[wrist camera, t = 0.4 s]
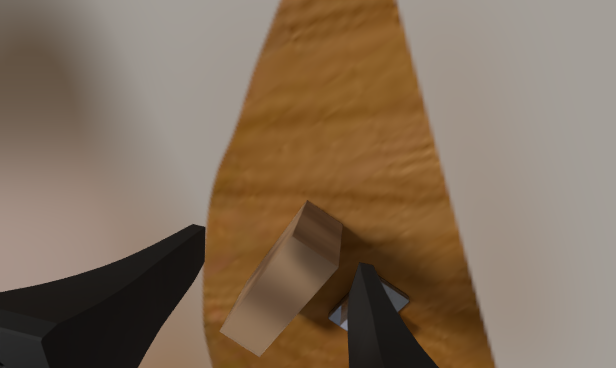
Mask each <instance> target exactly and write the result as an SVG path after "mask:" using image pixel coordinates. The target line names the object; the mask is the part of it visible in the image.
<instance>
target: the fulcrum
mask: <svg viewBox="0 0 616 368" xmlns="http://www.w3.org/2000/svg"><path fill="white" fill-rule="evenodd" d="M378 277H379V276H378ZM379 279H380V281H381V283H382V285H383V287H384V289H385V291H386V293H387V295H388V296H389V298H390V300H391V302H392V304H393V306H394V307H395V309H396V311H397V312H398V311H399V310H400V309H402V308H403V307H404V306H405V305H406V304H407V303H408V302H409V297H408V296H407V295H406V294H404V293H403V292H401V291H400V290H398V289H397V288H395V287H394V286H392V285H391V284H389V283H388V282H386V281H385V280H384V279H382V278H381V277H379ZM349 293H350V292H349ZM349 293H348V294H347V295H346V296H345V297H344V298H343V299H342V300H341V301H340V302H339V303H338V304H337V306H336V307H335V308H334V309H333V310H332V311H331V312H330V313H329V316H328V319H330V320H331V321H333V322H334V323H336V324H337V325H339V326H340V327H342V328H343V329H345V330H346V331H348V327H347V312H348V299H349Z"/></svg>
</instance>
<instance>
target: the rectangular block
mask: <svg viewBox="0 0 616 368" xmlns="http://www.w3.org/2000/svg"><path fill="white" fill-rule="evenodd" d="M342 226H343V225H342V224H341V223H340V222H338V221H337V220H335V219H334V218H332V217H331V216H329V215H328V214H326V213H325V212H323V211H322V210H321V209H319V208H318V207H316V206H315V205H313V204H312V203H310V202H309V201H306V202H305V204H304V205H303V206H302V208H301V209H300V210H299V212H298V213H297V214H296V216H295V217H294V218H293V220H292V221H291V223H290V224H289V225H288V227H287V228H286V229H285V231H284V232H283V233H282V235H281V236H280V237H279V239H278V240H277V241H276V243H275V244H274V246H273V247H272V248H271V250H270V251H269V252H268V254H267V255H266V256H265V258H264V259H263V260H262V262H261V263H260V264H259V266H258V267H257V268H256V270H255V271H254V273H253V274H252V275H251V277H250V278H249V279H248V281H247V282H246V284H245V286H244V288H243V290H242V292H241V293H240V295H239V297H238V299H237V301H236V302H235V304H234V306H233V308H232V310H231V311H230V313H229V315H228V317H227V319H226V321H225V322H224V324H223V326H222V328H221V330H220V332H221V333H223V334H224V335H226V336H227V337H229V338H231V339H232V340H234V341H235V342H237V343H238V344H240V345H241V346H243V347H245V348H246V349H248V350H249V351H251V352H252V353H254V354H256V355H257V356H259V357H260V356H261V354H262V353H263V352H264V351H265V350H266V349H267V348H268V347H269V345H270V344H271V343H272V342H273V341H274V340H275V339H276V338H277V336H278V335H279V334H280V333H281V332H282V331H283V330H284V329H285V327H286V326H287V325H288V324H289V323H290V322H291V321H292V319H293V318H294V317H295V316H296V315H297V314H298V313H299V312H300V310H301V309H302V308H303V307H304V306H305V305H306V304H307V303H308V301H309V300H310V299H311V298H312V297H313V296H314V295H315V294H316V292H317V291H318V290H319V289H320V288H321V287H322V286H323V285H324V283H325V282H326V281H327V280H328V279H329V278H330V277H331V275H332V274H333V273H334V272H335V271H336V270H337V269H338V268H339V258H340V248H341V237H342Z"/></svg>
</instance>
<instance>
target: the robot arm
mask: <svg viewBox="0 0 616 368" xmlns="http://www.w3.org/2000/svg"><path fill="white" fill-rule="evenodd" d="M204 262H205V227H203V226H198V225H195V224H192V225H190V226H188V227H186V228H185V229H182V230H181V231H179V232H177V233H175V234H173V235H171V236H169V237H167V238H165V239H163V240H162V241H160V242H158V243H156V244H154V245H152V246H150V247H148V248H146V249H143V250H141V251H139V252H137V253H135V254H133V255H130V256H128V257H126V258H123V259H121V260H119V261H116V262H113V263H111V264H108V265H105V266H103V267H100V268H97V269H94V270H90V271H87V272H84V273H81V274H78V275H75V276H71V277H68V278H64V279H60V280H56V281H52V282H48V283H44V284H40V285H35V286H30V287H26V288H20V289H15V290H10V291H5V292H0V368H138V366H139V365H140V363H141V361H142V359H143V357H144V356H145V354H146V352H147V350H148V349H149V347H150V345H151V343H152V342H153V340H154V338H155V337H156V335H157V333H158V331H159V330H160V328H161V326H162V325H163V324H164V322H165V321H166V320H167V318H168V317H169V315H170V314H171V312H172V311H173V310H174V309H175V307H176V306H177V304H178V303H179V302H180V300H181V299H182V297H183V296H184V294H185V293H186V292H187V290H188V289H189V287H190V286H191V285H192V283H193V282H194V280H195V278H196V277H197V275H198V273H199V271H200V269H201V267H202V266H203V264H204ZM347 327H348V351H349V368H439V367H438V366H437V365H436V364H435V363H434V361H433V360H432V359H431V358H430V357H429V356H428V354H427V353H426V352H425V351H424V350H423V348H422V347H421V346H420V345H419V343H418V342H417V341H416V339H415V338H414V336H413V335H412V334H411V332H410V331H409V330H408V328H407V327H406V325H405V324H404V322H403V320H402V319H401V317H400V316H399V314H398V312H397V311H396V309H395V307H394V306H393V304H392V302H391V300H390V298H389V296H388V295H387V293H386V291H385V289H384V287H383V285H382V283H381V281H380V279H379V277H378V274H377V272H376V270H375V268H374V266H373V265H370V264H365V263H361V262H359V265H358V268H357V271H356V274H355V278H354V281H353V284H352V287H351V290H350V293H349V299H348V312H347Z"/></svg>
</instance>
